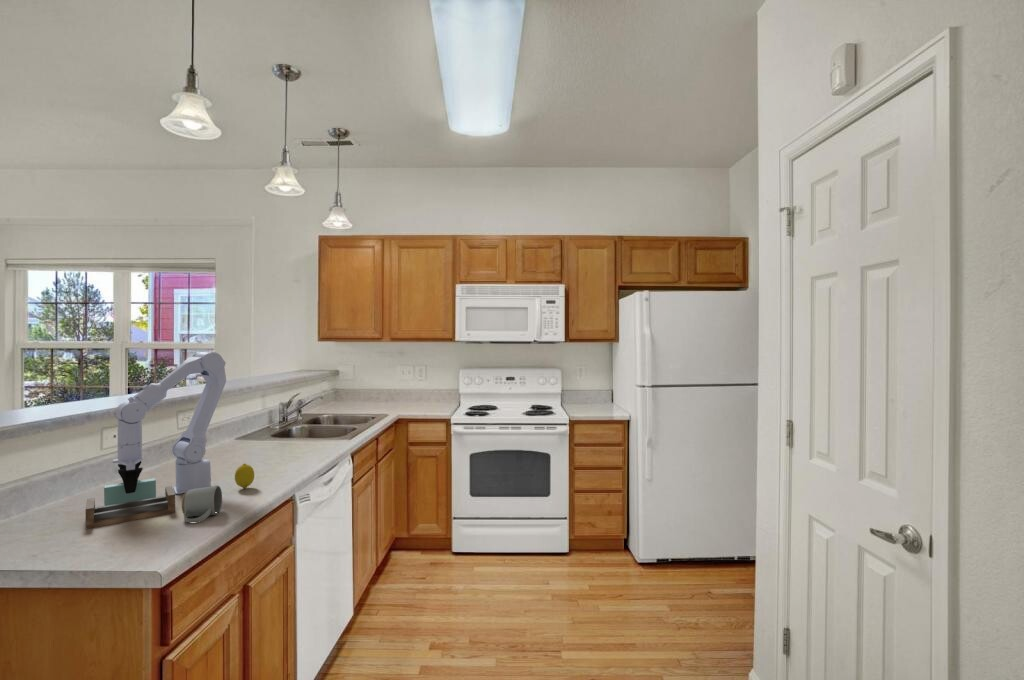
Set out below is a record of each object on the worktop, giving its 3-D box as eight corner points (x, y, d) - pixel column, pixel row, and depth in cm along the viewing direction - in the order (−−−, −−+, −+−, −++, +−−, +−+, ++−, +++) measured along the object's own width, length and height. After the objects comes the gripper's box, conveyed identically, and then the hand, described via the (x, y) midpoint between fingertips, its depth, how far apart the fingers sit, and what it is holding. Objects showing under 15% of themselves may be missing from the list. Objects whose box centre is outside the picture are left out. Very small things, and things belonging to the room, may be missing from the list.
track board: (172, 502, 148) (171, 485, 148) (175, 512, 140) (175, 494, 140) (87, 517, 136) (87, 499, 136) (85, 528, 128) (85, 509, 128)
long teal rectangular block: (155, 497, 153) (155, 478, 153) (156, 500, 151) (155, 480, 151) (104, 506, 146) (104, 485, 146) (104, 509, 143) (104, 487, 143)
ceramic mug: (190, 511, 141) (189, 484, 140) (223, 508, 143) (222, 482, 142) (175, 526, 130) (175, 496, 130) (211, 523, 133) (210, 494, 132)
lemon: (246, 491, 158) (245, 466, 158) (230, 490, 159) (230, 465, 159) (258, 486, 164) (258, 461, 164) (243, 485, 165) (243, 461, 165)
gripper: (112, 440, 151) (112, 486, 151) (112, 449, 140) (112, 498, 140) (141, 438, 156) (141, 482, 156) (144, 446, 144) (144, 493, 144)
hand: (130, 489), depth 148 cm, fingers open, 7 cm apart
